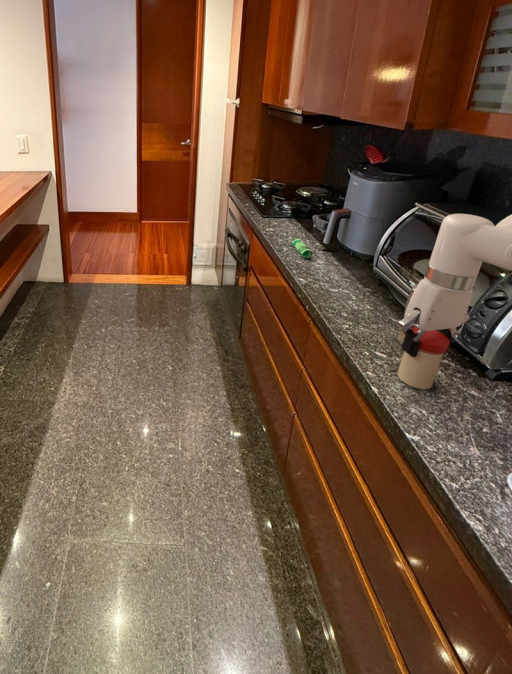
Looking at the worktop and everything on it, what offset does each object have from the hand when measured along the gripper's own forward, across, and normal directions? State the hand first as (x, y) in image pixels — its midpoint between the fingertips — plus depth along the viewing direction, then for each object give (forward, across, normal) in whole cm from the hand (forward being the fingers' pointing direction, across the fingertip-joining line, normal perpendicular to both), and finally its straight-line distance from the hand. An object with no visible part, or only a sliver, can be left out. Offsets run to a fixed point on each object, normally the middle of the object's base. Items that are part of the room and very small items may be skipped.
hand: (423, 350), depth 82 cm
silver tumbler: (+8, -10, -11) cm, 17 cm away
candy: (+8, -16, -67) cm, 69 cm away
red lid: (-3, 0, 0) cm, 3 cm away
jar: (+8, 0, 0) cm, 8 cm away
